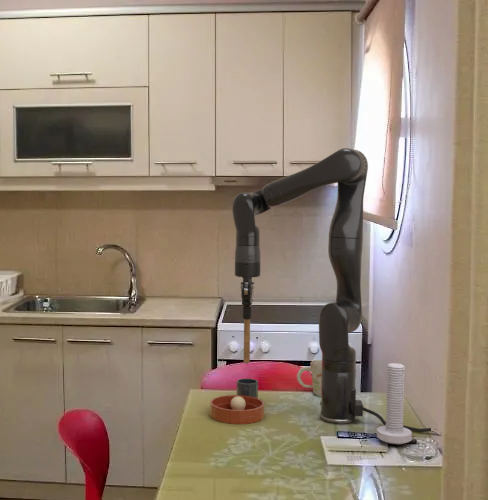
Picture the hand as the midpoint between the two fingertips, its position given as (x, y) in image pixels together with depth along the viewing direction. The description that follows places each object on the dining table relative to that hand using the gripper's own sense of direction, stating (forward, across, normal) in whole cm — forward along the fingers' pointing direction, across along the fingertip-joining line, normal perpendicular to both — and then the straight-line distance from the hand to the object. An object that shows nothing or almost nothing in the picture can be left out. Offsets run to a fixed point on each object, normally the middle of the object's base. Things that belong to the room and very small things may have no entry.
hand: (247, 318), depth 206 cm
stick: (+13, 0, 0) cm, 13 cm away
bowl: (+26, +12, -2) cm, 29 cm away
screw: (+27, +26, +39) cm, 54 cm away
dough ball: (+26, +9, -2) cm, 27 cm away
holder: (+26, -1, 0) cm, 26 cm away
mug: (+26, -16, +21) cm, 37 cm away
